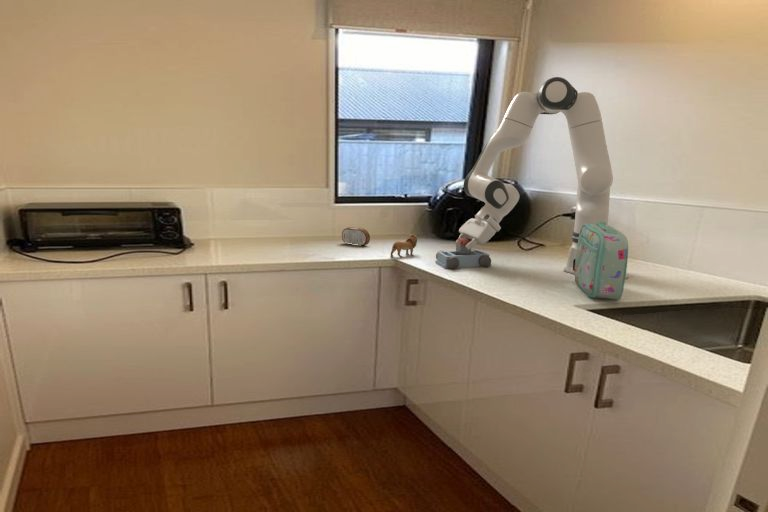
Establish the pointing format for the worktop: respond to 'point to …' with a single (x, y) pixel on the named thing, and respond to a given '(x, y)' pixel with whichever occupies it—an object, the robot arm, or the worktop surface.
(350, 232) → the wooden speaker
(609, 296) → the lunch box
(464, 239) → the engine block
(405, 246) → the lion figurine
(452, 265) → the chassis
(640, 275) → the worktop surface
